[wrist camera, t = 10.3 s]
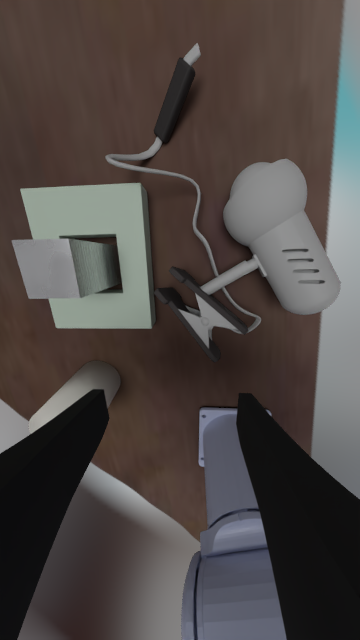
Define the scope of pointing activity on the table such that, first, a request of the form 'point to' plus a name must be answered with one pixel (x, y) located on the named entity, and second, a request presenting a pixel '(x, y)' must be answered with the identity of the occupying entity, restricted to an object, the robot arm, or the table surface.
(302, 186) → the clip-on lamp
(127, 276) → the socket board
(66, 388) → the cream round peg
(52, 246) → the steel square peg
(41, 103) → the table surface
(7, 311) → the table surface
